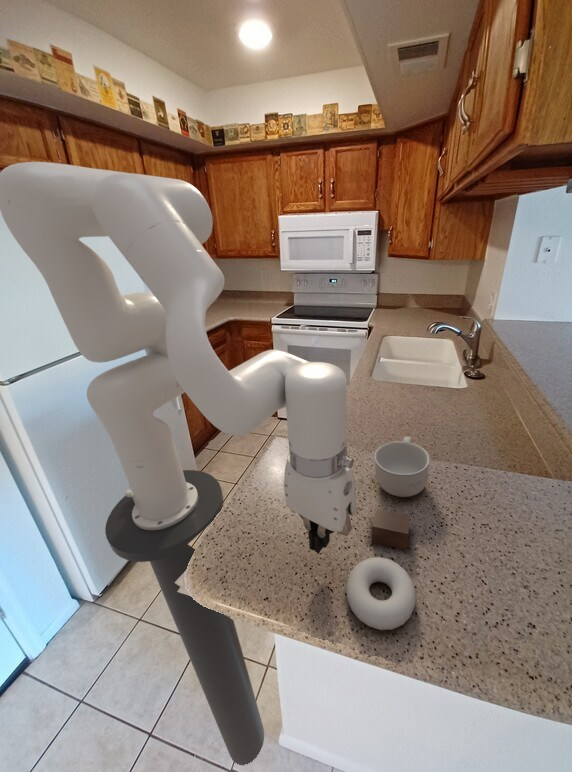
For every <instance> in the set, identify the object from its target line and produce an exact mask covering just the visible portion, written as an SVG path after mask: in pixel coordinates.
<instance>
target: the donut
mask: <svg viewBox="0 0 572 772" xmlns="http://www.w3.org/2000/svg"><path fill="white" fill-rule="evenodd" d="M374 583H383V584H385V585H387V586H388V587H389V588H390V590H391V595H390V597H388V599H385V600H384V599H383V600H380V599H376V598H375V597H374V596H372V594H371V592H370V587H371V585H372V584H374ZM414 586H415V585H414V582H413V580H412V579H411V577H410V576H409V574H408V572H407V571H406V570H405V569H404V568H403V567H402V566H401V565H400V564H399V563H397V562H395V561H393V560H391V559H389V558H385V557H381V556H377V557H375V556H374V557H368V558H366V559H364V560H361V561H360V562H359V563H357V564H356V565H354V567H353V568H352V569H351V571H350V573H349V575H348V578H347V582H346V587H345V588H346V589H345V590H346V599H347V602H348V604H349V607H350V609H351V611H352V613H354V615H355V617H357V618H358V620H359V621H361V622H362V623H364V624H365V625H366V626H368V627H370V628H373V629H377V630H379V631H386V630H387V631H388V630H394V629H396V628H399V627H401V626H403V625H404V624H405V623H406V622H407V621H408V620H409V619H410V618H411V616H412V613H413V611H414V609H415V607H416V590H415V587H414Z"/></svg>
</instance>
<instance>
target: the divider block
mask: <svg viewBox="0 0 572 772" xmlns="http://www.w3.org/2000/svg"><path fill="white" fill-rule="evenodd" d="M410 520H411V515H410V514H405V513H400V512H395V511H390V510H384V509H380V508H375V510H374V516H373V520H372V525H371V543H373V544H377V545H382V546H385V547H391V548H395V549H400V550H403V551H408V541H409V531H410Z"/></svg>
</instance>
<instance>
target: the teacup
mask: <svg viewBox="0 0 572 772" xmlns="http://www.w3.org/2000/svg"><path fill="white" fill-rule="evenodd" d="M373 458H374V466H375V468H374V469H375V477H376V480H377V483H378V485H379V486H380V488H381V489H382V490H383V491H385V492H386V493H388V494H389V495H393V496H395V497H399V498H407V497H413V496H416V495H418V494H419V493H420V492H422V491H423V489H425V487H426V485H427V483H428V477H429V469H430V468H429V467H430V463H431V461H430V460H431V459H430V455H429V453H428V452H427V450H426V449H424V448H423V447H422V446H420V445H418V444H416V443H413V442H412V438H411V437H410V436H404V437H403V440H400V441H399V440H397V441H396V440H395V441H388V442H386V443H383V444H382V445H380V446H379V447H378V448H377V449H376V450H375V452H374V456H373Z"/></svg>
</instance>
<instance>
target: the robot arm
mask: <svg viewBox="0 0 572 772" xmlns="http://www.w3.org/2000/svg"><path fill="white" fill-rule="evenodd" d="M0 213H1V216H2V219H3V221H4V223H5V224H6V226H7V228H8V230H9V232H10V234H11V235H12V236H13V238H14V239H15V241H16V242H17V244H18V245H19V246H20V248H21V250H22V251H23V252H24V253H25V254H26V256H27V257H28V258H29V259H30V260H31V262H32V263H33V265H35V267H36V269H37V270H38V272H40V274H41V276H42V277H43V279H44V282H45V283H46V285H47V287H48V290H49V292H50V294H51V296H52V299H53V301H54V303H55V306H56V308H57V310H58V311H59V314H60V316H61V318H62V320H63V323H64V324H65V327H66V329H67V331H68V333H69V335H70V338H71V340H72V341H73V343H74V345H75V347H76V349H77V350H78V352H79V353H80V354H81V355H82V357H83V358H85V359H86V360H87V361H89V362H91V363H99V364H100V363H108V362H112V361H116V360H118V359H122V358H124V357H128V356H130V355H133V354H136V353H139V352H141V351H143V350H144V351H145V354H146V355H144V356H140V357H138V358H136V359H132V360H129V361H128V362H125V363H122V364H120V365H117V366H115V367H112V368H110V369H108V370H105V371H104V372H101V373H100V374H99V375H97V376H95V377H94V378H93V379H92V380H91V382H89V384H88V386H87V389H86V399H87V401H88V403H89V405H90V408H91V409H92V410H93V413H94V414H95V415H96V417H97V418H98V419H99V420H100V422H101V424H102V426H103V427H104V429H105V431H106V433H107V435H108V436H109V438H110V440H111V442H112V445H113V448H114V449H115V450H114V451H115V452H116V454H117V457H118V460H119V462H120V465H121V467H122V469H123V472H124V475H125V477H126V480H127V483H128V486H129V487H128V488H129V489H127V490H126V491H125V493H124V496H126V497H131V498H133V500H134V502H135V506H134V508H133V510H132V518H133V521H134V523H135V524H136V525H137V526H138V527H139V528H141V529H144V530H160V529H164V528H167V527H170V526H172V525H174V524H176V523H178V522H180V521H181V520H183V519H184V518H185V517H187V516H188V515H189V514H190V513H191V512H192V511H193V509H194V508H195V506H196V504H197V502H198V493H197V490H196V488H195V487H194V486H193V485H192V484H190V483H188V482H186V480H185V477H184V473H183V470H184V469H183V467H182V464H181V460H180V457H179V453H178V450H177V447H176V443H175V440H174V436H173V433H172V429H171V428H170V427H169V425H168V424H167V423H166V422H165V421H163V420H162V419H160V418H157V417H155V416H154V412H156V410H158V409H159V408H161V407H162V406H164V405H166V404H167V403H169V402H171V401H173V400H174V399H176V398H178V397H179V396H181V395H183V394H184V393H185V394H186V395H187V397H188V398H189V399H190V401H191V402H192V403H193V404H194V406H195V407H196V408H197V409H198V411H199V412H200V413H201V414H202V415H203V417H205V419H207V421H208V422H209V423H211V424H212V425H213V426H214V427H215V428H216V429H217V430H219V431H221V432H222V433H225V434H227V435H229V436H233V437H234V436H235V437H240V436H241V437H242V436H246V435H248V434H251V433H253V432H254V431H256V430H257V429H258V428H260V427H261V426H262V425H263V424H264V423H266V422H267V421H268V420H269V419H270V418H271V417H272V416H273V415H274V414H275V413H276V412H278V411H280V410H281V409H284V408H285V409H286V410H285V411H286V421H287V422H286V424H287V438H288V452H289V453H288V455H287V458H286V462H285V468H284V476H283V493H284V500H285V504H286V506H287V507H288V509H290V510H291V511H293V512H294V513H295V514H298V515H299V517H300V518H301V519H302V522H303V526H304V529H305V530H307V532H308V533H307V535H308V541H309V542H308V544H309V545H308V547H309V550H311V551H314V552H315V553H316V554H320V553H321V551H322V550H323V549H326V548H327V547H328V545H329V543H330V542H331V541H330V540H331V535H330V534H334V533H336V534H339V535H343V536H345V537H347V536H349V534H350V532H352V529H353V526H352V522H351V518H350V516H351V517H353V516H354V515H355V513H356V509H357V496H356V483H355V476H354V470H353V466H354V463H355V459H354V458H353V457H350V456H349V454H348V453H347V450H348V447H347V446H346V441H347V413H348V412H347V409H348V408H347V407H348V379H347V376H346V374H345V372H344V371H343V370H342V368H340V367H339V366H338V365H335V364H333V363H329V362H323V361H310V360H306V359H303V358H301V357H298V356H296V355H294V354H292V353H290V352H287V351H284V350H278V349H268V350H265V351H262V352H260V353H257V354H256V355H255V356H253V357H251V358H249V359H248V360H246V361H244V362H242V363H241V364H239V365H236V366H235V367H234V368H231V369H230V370H228V368H227V367H226V366H225V364H224V363H223V362H222V360H221V359H220V358H219V357H218V355H217V353H216V352H215V350H214V349H213V346H212V345H211V342H210V340H209V337H208V334H207V327H206V315H207V310H208V309H209V307H211V305H213V303H214V302H215V301H216V300H217V299H218V298H219V296H220V295H221V293H222V292H223V290H224V287H225V282H226V279H225V276H224V274H223V271H222V270H221V269H220V267H219V266H218V265H217V263H216V262H215V261H214V260H213V258H212V257H211V255H210V254H209V253H208V252H207V250H206V249H205V248H204V246H203V244H204V243H206V242H207V241H208V239H209V238H211V237H210V236H211V235H212V232H213V225H214V219H213V214H212V211H211V208H210V205H209V203H208V202H207V200H206V198H205V197H204V195H203V194H202V193H201V192H200V191H199V190H198V188H197V187H195V186H194V185H192V184H191V183H190V182H187V181H185V180H182V179H180V178H179V179H178V178H172V177H164V176H156V175H151V174H150V175H149V174H142V173H141V174H140V173H131V172H125V171H124V172H123V171H116V170H110V169H109V170H108V169H102V168H94V167H88V166H87V167H86V166H79V165H74V164H73V165H72V164H65V163H58V162H48V161H47V162H46V161H27V162H18V163H14V164H10V165H8V166H6V167H4V168H3V169H2V170H1V171H0ZM97 237H99V238H100V237H101V238H103V237H104V238H105V237H108V239H110V241H111V242H112V243H113V245H115V247H116V248H117V250H118V251H119V252H120V254H121V255H122V256H123V258H124V259H125V260H126V261H127V263H128V264H129V265H130V266H131V268H132V269H133V270H134V272H135V273H136V274H137V275H138V277H139V278H140V279H141V281H142V282H143V283H144V285H145V286H146V287H147V288H148V290H149V291H150V292H151V293H150V292H134V293H129V294H125V295H124V294H123V295H122V293H121V292H120V290H119V288H118V285H117V282H116V280H115V276H114V274H113V272H112V270H111V268H110V267H109V265H108V264H107V262H106V261H105V260H104V259H103V258H102V257H101V256H99V254H97V252H95V251H94V250H93V249H92V248H91V247H89V246H88V245H87V244H85V243H84V242H82V240H80V239H82V238H97Z"/></svg>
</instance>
